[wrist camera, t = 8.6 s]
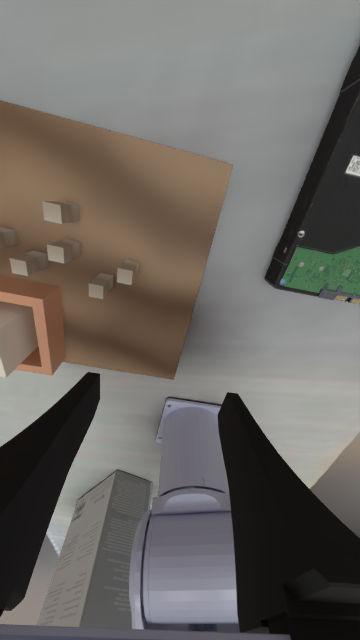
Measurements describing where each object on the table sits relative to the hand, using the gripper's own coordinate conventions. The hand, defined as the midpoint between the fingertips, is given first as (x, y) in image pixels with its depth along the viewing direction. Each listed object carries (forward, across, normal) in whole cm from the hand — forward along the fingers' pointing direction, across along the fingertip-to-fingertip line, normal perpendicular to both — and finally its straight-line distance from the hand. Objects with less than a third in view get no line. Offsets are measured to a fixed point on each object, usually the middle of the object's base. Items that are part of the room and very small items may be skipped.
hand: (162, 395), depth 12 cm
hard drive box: (+10, +4, +39) cm, 41 cm away
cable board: (+10, +8, -3) cm, 13 cm away
